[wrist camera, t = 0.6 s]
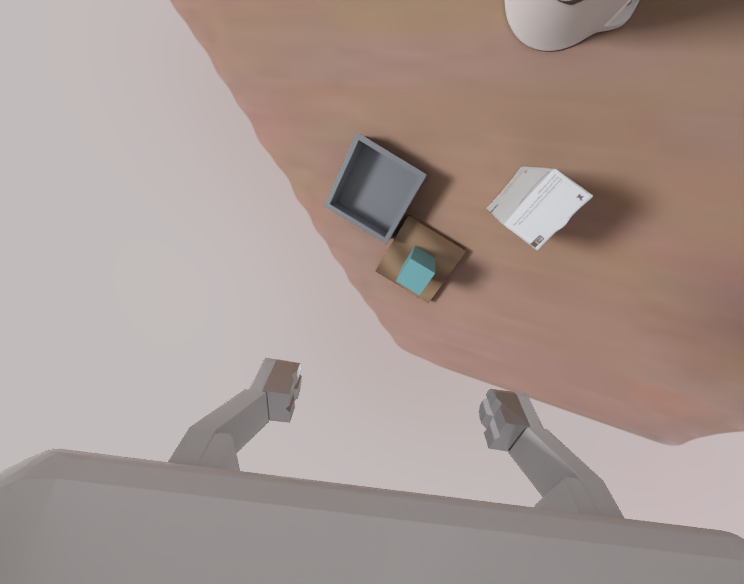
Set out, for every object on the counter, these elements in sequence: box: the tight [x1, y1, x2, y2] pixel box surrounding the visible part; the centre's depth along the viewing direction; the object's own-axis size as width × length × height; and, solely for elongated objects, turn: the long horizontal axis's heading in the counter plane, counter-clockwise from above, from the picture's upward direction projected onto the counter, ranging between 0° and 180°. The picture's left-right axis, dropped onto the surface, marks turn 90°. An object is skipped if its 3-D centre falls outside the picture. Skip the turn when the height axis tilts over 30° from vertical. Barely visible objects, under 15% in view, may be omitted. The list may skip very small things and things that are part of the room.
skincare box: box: [487, 166, 593, 250], centre depth 41 cm, size 8×6×15 cm
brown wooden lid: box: [376, 215, 466, 303], centre depth 52 cm, size 12×12×5 cm
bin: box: [324, 132, 427, 244], centre depth 49 cm, size 13×13×5 cm
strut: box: [396, 246, 436, 295], centre depth 49 cm, size 4×4×9 cm
